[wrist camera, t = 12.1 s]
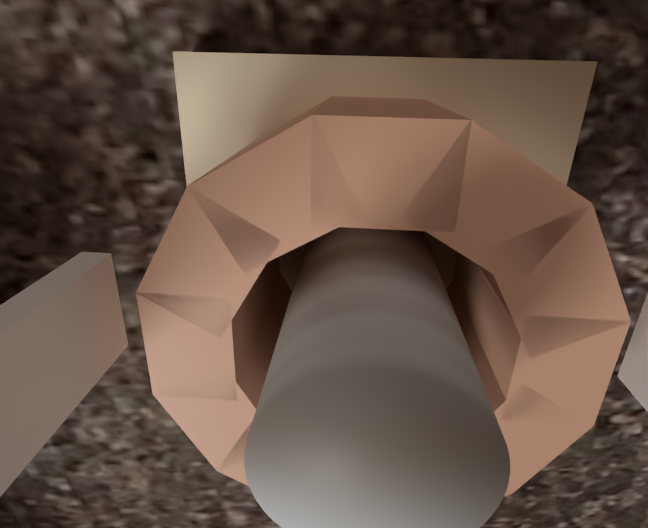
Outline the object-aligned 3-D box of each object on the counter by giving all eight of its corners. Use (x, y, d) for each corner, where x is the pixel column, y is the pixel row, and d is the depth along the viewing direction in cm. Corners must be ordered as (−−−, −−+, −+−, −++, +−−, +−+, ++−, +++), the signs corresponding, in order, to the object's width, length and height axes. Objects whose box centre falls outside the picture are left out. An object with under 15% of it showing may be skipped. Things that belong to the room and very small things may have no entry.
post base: (500, 378, 18) (655, 715, 9) (218, 360, 19) (74, 653, 9) (573, 62, 14) (1097, 41, 4) (190, 53, 14) (-162, 17, 5)
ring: (490, 383, 17) (554, 535, 11) (230, 365, 17) (170, 502, 12) (552, 102, 13) (700, 127, 7) (210, 92, 13) (104, 107, 8)
